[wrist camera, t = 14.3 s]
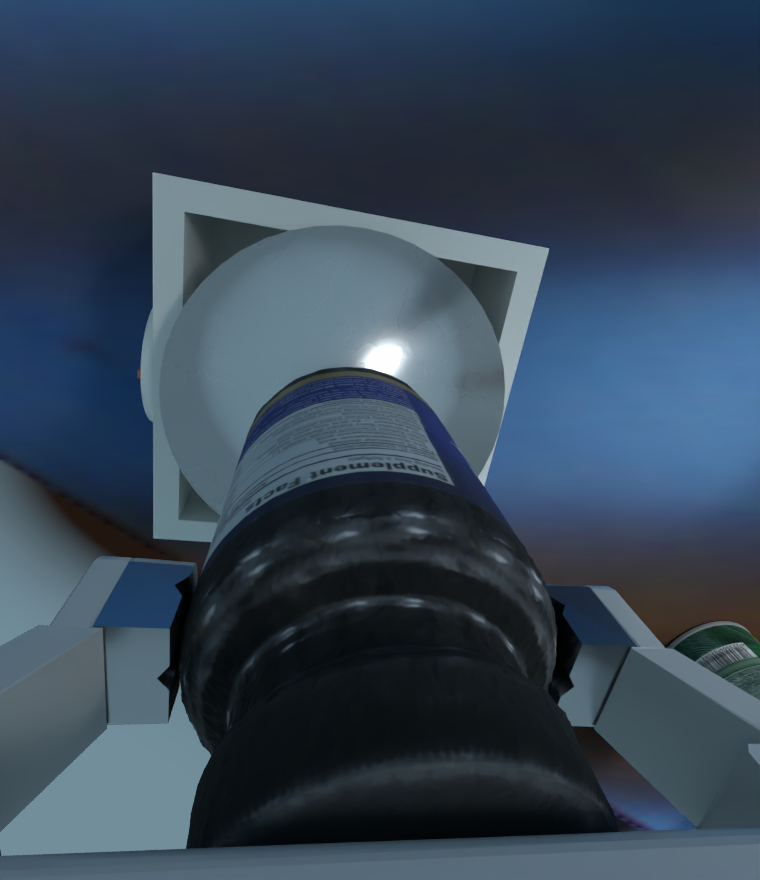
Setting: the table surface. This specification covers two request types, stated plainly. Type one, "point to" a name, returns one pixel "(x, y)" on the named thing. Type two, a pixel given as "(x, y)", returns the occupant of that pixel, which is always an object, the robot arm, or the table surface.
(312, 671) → the pill bottle
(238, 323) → the scale pan
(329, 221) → the scale housing
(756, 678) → the canned tomato
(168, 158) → the table surface
